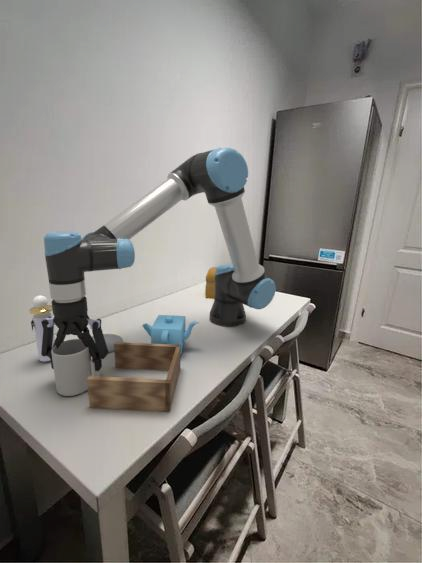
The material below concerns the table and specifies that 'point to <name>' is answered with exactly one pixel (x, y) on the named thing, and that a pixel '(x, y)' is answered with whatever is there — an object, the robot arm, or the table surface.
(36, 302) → the perfume bottle
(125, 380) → the three-sided wooden frame
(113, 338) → the grey saucer
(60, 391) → the mug
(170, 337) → the teapot
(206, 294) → the bread
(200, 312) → the table surface
